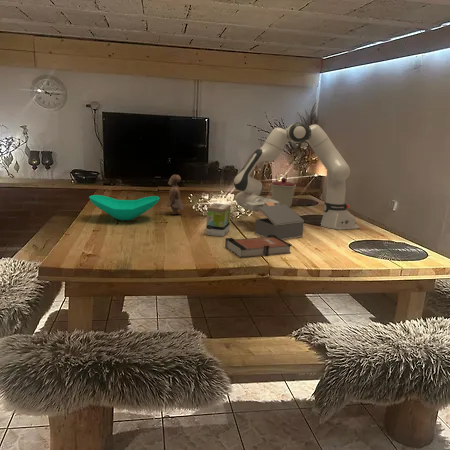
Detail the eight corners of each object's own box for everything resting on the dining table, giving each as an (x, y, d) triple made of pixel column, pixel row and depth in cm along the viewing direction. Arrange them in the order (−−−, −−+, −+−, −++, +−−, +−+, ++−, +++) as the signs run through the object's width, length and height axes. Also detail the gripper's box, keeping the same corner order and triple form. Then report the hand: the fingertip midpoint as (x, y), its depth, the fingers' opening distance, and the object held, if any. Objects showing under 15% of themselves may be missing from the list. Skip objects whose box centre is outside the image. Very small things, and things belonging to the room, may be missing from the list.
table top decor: (86, 224, 239) (85, 200, 236) (93, 213, 265) (92, 192, 262) (159, 225, 245) (159, 202, 242) (159, 214, 272) (159, 193, 269)
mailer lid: (281, 201, 246) (281, 200, 246) (303, 221, 233) (304, 220, 233) (253, 204, 235) (253, 203, 234) (275, 225, 222) (275, 224, 221)
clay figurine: (168, 211, 281) (168, 172, 275) (183, 212, 282) (184, 173, 276) (166, 216, 269) (166, 175, 263) (182, 216, 269) (183, 176, 263)
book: (240, 259, 193) (241, 248, 192) (225, 248, 209) (225, 238, 208) (291, 254, 204) (292, 244, 203) (273, 244, 219) (273, 234, 218)
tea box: (224, 236, 228) (225, 208, 224) (205, 235, 229) (206, 207, 226) (229, 230, 242) (231, 203, 238) (212, 228, 244) (213, 202, 240)
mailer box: (282, 229, 248) (283, 216, 246) (302, 236, 235) (303, 222, 233) (254, 233, 236) (255, 219, 234) (274, 241, 224) (275, 225, 222)
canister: (298, 207, 318) (300, 178, 313) (287, 210, 303) (290, 180, 298) (275, 203, 327) (277, 175, 322) (264, 207, 312) (266, 177, 307)
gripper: (241, 199, 242) (257, 203, 231) (269, 196, 254) (286, 201, 243) (241, 210, 244) (256, 215, 233) (269, 207, 255) (285, 212, 244)
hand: (271, 208), depth 238 cm, fingers closed, pressing on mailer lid
